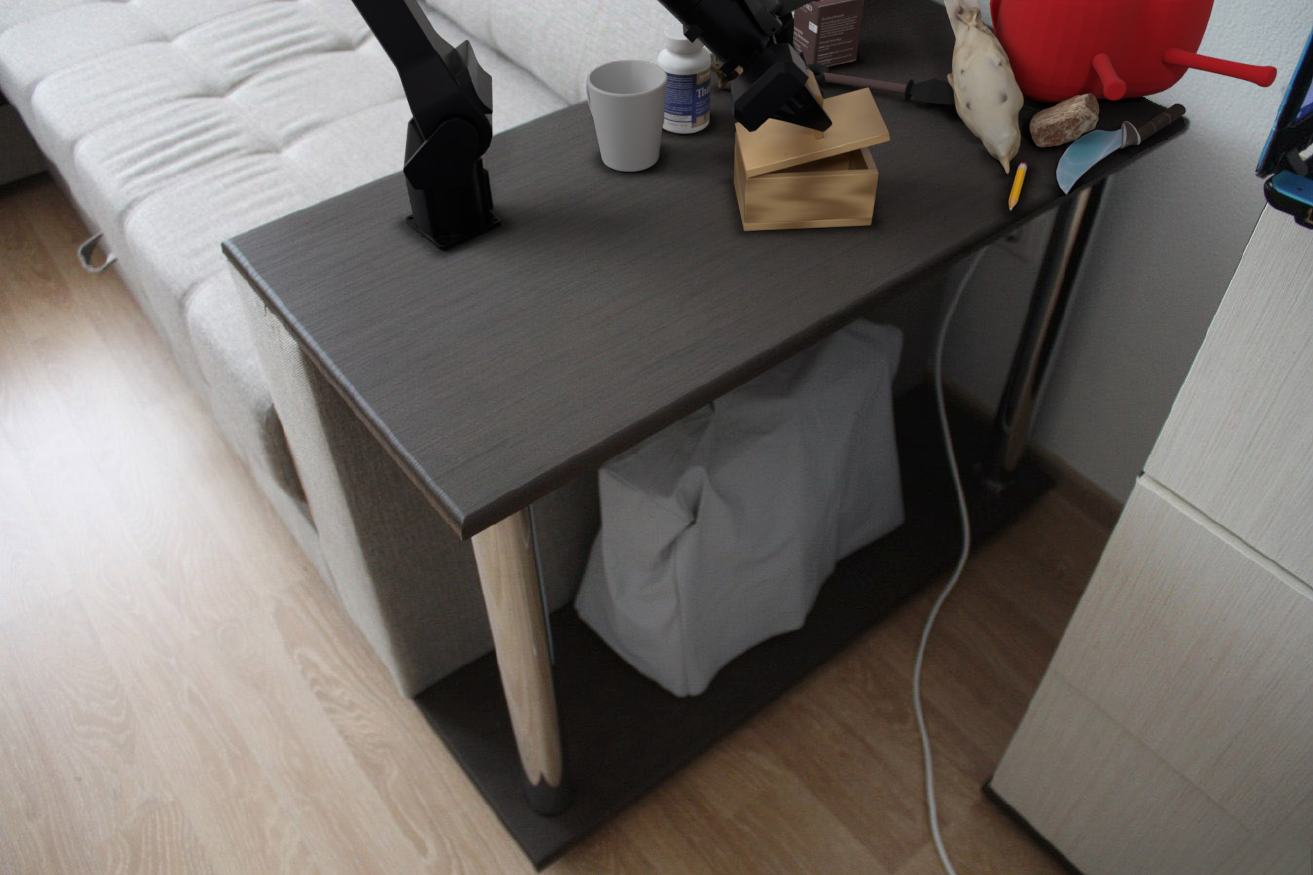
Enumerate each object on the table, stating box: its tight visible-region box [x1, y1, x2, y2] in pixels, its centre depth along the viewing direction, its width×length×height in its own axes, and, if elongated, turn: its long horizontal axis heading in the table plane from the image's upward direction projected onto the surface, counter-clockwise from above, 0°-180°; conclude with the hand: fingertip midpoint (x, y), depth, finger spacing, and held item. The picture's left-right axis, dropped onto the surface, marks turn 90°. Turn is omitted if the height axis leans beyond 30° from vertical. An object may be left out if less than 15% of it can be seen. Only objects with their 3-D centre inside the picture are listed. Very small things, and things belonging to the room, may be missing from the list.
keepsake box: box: [733, 131, 880, 232], centre depth 94 cm, size 12×9×5 cm
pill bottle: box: [657, 22, 712, 135], centre depth 104 cm, size 5×5×10 cm
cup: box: [585, 59, 668, 173], centre depth 100 cm, size 8×10×8 cm
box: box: [792, 0, 865, 68], centre depth 116 cm, size 6×6×7 cm
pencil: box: [1008, 162, 1028, 211], centre depth 97 cm, size 1×8×1 cm
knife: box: [1055, 103, 1187, 195], centre depth 102 cm, size 22×2×5 cm
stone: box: [1029, 93, 1100, 148], centre depth 102 cm, size 7×6×5 cm
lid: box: [734, 69, 891, 178], centre depth 89 cm, size 12×9×5 cm
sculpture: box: [943, 0, 1025, 175], centre depth 102 cm, size 6×25×5 cm
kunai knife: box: [807, 64, 1043, 111], centre depth 108 cm, size 4×27×3 cm, turn 57°
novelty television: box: [989, 0, 1278, 105], centre depth 105 cm, size 21×13×30 cm
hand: (824, 113), depth 90 cm, fingers closed on lid, 5 cm apart
